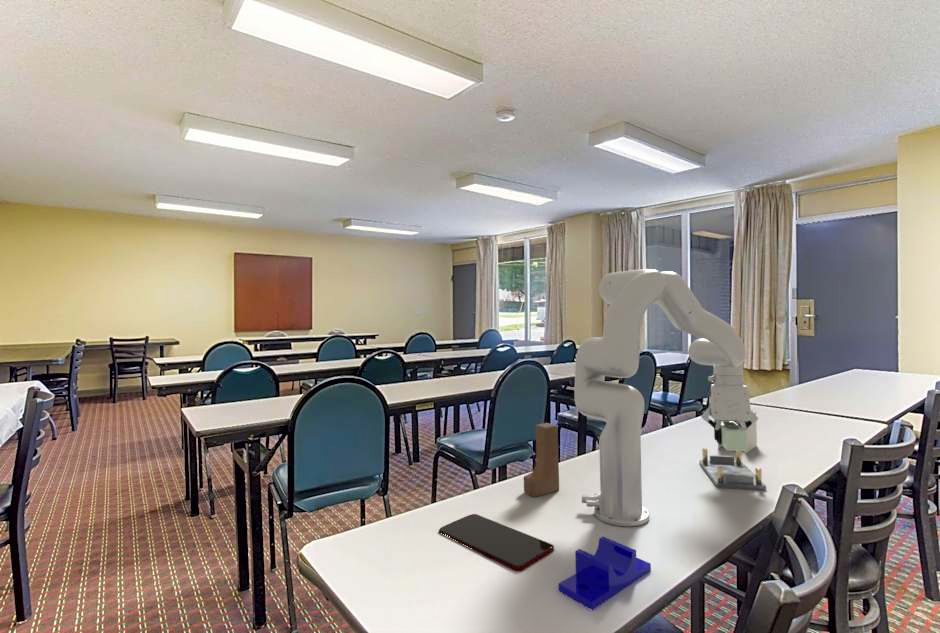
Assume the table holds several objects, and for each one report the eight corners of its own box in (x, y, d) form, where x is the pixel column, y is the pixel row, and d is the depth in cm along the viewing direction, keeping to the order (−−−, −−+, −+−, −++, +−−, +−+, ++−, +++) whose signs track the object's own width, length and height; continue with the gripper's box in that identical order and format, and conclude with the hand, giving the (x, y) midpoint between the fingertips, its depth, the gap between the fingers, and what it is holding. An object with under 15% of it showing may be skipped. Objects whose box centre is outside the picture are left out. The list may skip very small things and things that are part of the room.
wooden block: (533, 497, 127) (531, 430, 127) (523, 492, 131) (521, 426, 131) (559, 490, 132) (558, 425, 131) (549, 485, 135) (547, 422, 135)
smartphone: (473, 511, 118) (556, 544, 100) (474, 517, 118) (557, 551, 100) (435, 528, 110) (518, 567, 91) (435, 535, 110) (518, 575, 91)
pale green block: (726, 450, 133) (726, 427, 133) (714, 437, 146) (713, 416, 145) (746, 451, 132) (746, 427, 132) (732, 438, 144) (731, 416, 144)
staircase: (717, 449, 165) (716, 401, 165) (729, 442, 173) (728, 396, 173) (745, 454, 159) (744, 404, 159) (756, 447, 166) (755, 399, 166)
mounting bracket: (618, 558, 97) (617, 528, 97) (650, 573, 91) (650, 541, 91) (558, 593, 85) (558, 560, 85) (592, 612, 80) (591, 577, 80)
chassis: (716, 487, 130) (716, 468, 130) (699, 463, 150) (699, 447, 150) (766, 490, 128) (765, 470, 128) (741, 465, 147) (741, 448, 147)
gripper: (699, 382, 137) (701, 445, 137) (766, 382, 133) (767, 447, 133) (693, 378, 144) (695, 438, 144) (756, 378, 140) (757, 440, 140)
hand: (729, 442), depth 139 cm, fingers closed on pale green block, 5 cm apart
